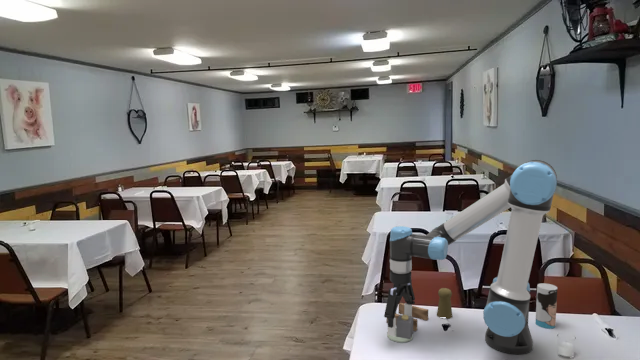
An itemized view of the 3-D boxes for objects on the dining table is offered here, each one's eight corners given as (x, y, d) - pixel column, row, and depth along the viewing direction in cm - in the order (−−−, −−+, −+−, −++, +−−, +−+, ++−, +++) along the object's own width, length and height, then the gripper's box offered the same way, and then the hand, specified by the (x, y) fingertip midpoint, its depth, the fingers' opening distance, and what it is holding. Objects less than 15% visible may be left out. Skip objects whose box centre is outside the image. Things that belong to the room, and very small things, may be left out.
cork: (453, 319, 166) (453, 292, 165) (437, 318, 168) (437, 291, 166) (451, 312, 172) (452, 286, 171) (436, 311, 174) (436, 285, 172)
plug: (413, 333, 154) (413, 314, 153) (410, 339, 149) (410, 320, 148) (399, 330, 156) (399, 312, 155) (396, 336, 151) (396, 317, 150)
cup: (549, 330, 156) (552, 291, 155) (531, 323, 162) (533, 285, 160) (558, 325, 160) (560, 287, 159) (540, 319, 166) (542, 282, 164)
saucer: (416, 334, 154) (416, 332, 154) (406, 345, 147) (406, 342, 147) (394, 328, 160) (394, 325, 159) (382, 337, 152) (382, 335, 152)
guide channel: (428, 319, 167) (428, 309, 166) (415, 331, 157) (415, 320, 157) (400, 311, 174) (400, 302, 173) (386, 322, 164) (386, 312, 164)
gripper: (405, 259, 163) (405, 313, 165) (374, 278, 143) (374, 338, 145) (424, 263, 158) (423, 317, 160) (394, 282, 138) (394, 344, 141)
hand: (400, 327), depth 153 cm, fingers open, 13 cm apart
